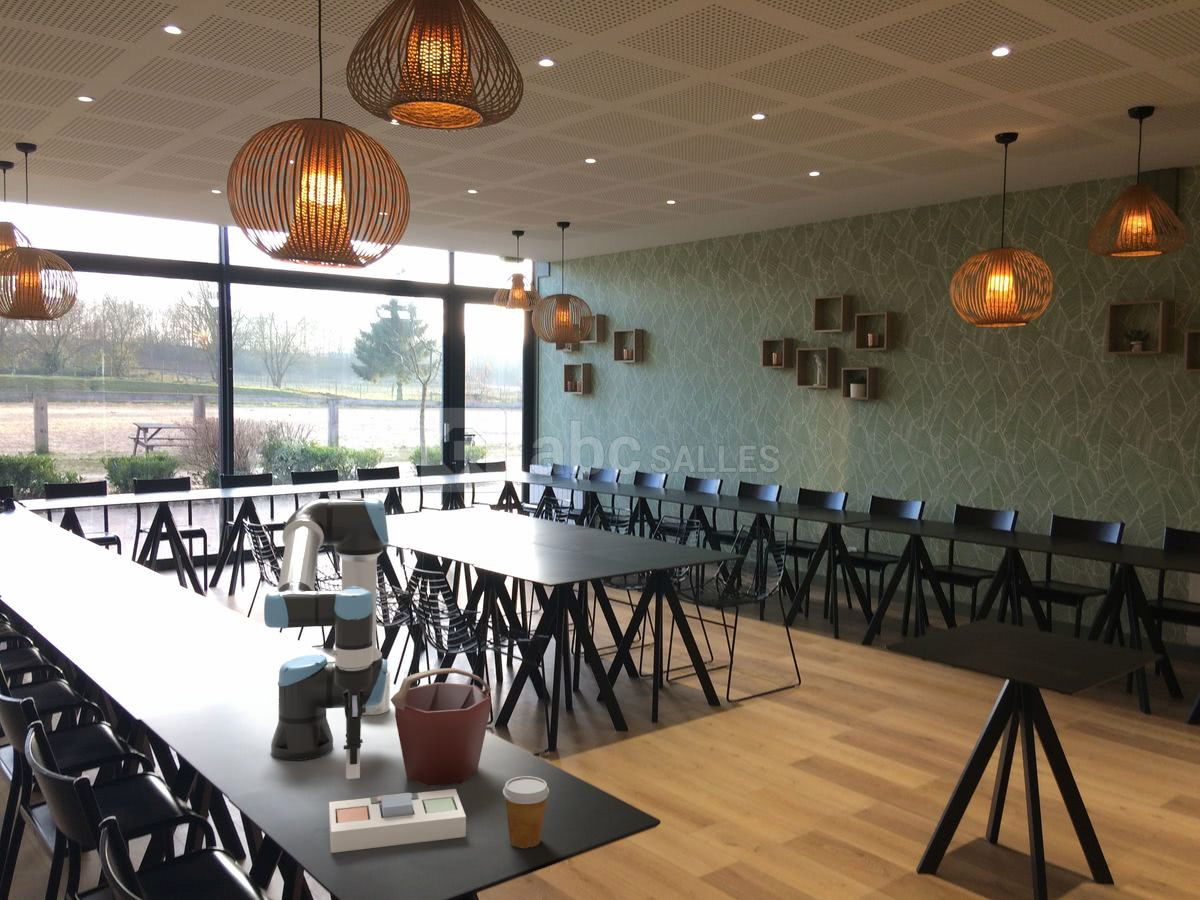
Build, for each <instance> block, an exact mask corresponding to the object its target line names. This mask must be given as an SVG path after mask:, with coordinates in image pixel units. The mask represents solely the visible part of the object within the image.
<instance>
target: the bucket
mask: <svg viewBox="0 0 1200 900" xmlns="http://www.w3.org/2000/svg"><path fill="white" fill-rule="evenodd" d="M442 674H443V675H444V674H458V675H461V676H465V677H468V678H471V679H473V680H476V681H479V683H480V684H481V685H483V687H484V688H483V689H481V688H480V687H479V686H477V685H475V684H474V685H473V684H462V683H450V682H441V681H439V682H434V683H428V684H424V685H420V686H414V687H411V685H412V683H415V682H417V681H420V680H422V679H425V678H429V677H432V676H435V675H442ZM491 691H492V688H491V687H490V686H489V684H488V683H486V682H485V681H484V680H483V679H482V678H481V677H479V676H478V675H476V674H473V673H471V672H469V671H466V670H462V669H458V668H455V667H449V668H448V667H447V668H446V667H445V668H434V669H428V670H425V671H421V672H418V673H417V672H416V673H413V674H411V675H409V676H407V677H404V678H403V680H402V683H401V685H400V688H399V690H398V691H397V692H396V693H395V694H394V695H393V696H392V697H390V698H391V699H390V701H391V702H390V703H392V705H393V707H394V718H395V722H396V728H397V733H398V738H399V744H400V750H401V755H402V758H403V759H402V760H403V765H404V770H405V775H406V778H407V779H408V780H411V781H413V782H417V783H418V784H422V785H424V786H425V787H426V786H427V787H434V786H435V787H436V786H437V787H438V786H446V785H447V786H448V785H458V784H459V785H460V784H463V783H464V782H465V781H466V780H468V779H470V777H472V776H474V775H475V774H476V773H478V769H479V766H480V759H481V754H482V750H483V746H484V742H485V737H486V732H487V727H488V724H489V719H490V713H491V709H492V708H491V699H492V697H491V696H490V695H489V694H490V693H491Z"/></svg>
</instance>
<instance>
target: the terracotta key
mask: <svg viewBox="0 0 1200 900" xmlns="http://www.w3.org/2000/svg"><path fill="white" fill-rule="evenodd" d="M361 820H368V814H367V807H362V808H353V809H343V810H337V823H343V822H352V821H361Z"/></svg>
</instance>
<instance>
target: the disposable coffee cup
mask: <svg viewBox="0 0 1200 900" xmlns="http://www.w3.org/2000/svg"><path fill="white" fill-rule="evenodd" d="M502 793H503V795H504V796H503V797H504V799H505V808H506V817H507V818H506V819H507V826H508V835H509V843H510V845H512V847H515V846H516V847H515V848H518V847H523V848H522V849H525V848H524V847H527V848H526V849H529V848H528V847H531V848H533V847H532V846H535V845H537V844H538V843H539V842H540V843H541V839H542V830H543V824H544V817H545V812H546V811H545V810H546V804H547V798H548V795H549V794H550V789H549V787H548V784H547V782H546V780H544V779H542V778H540V777H536V776H529V775H525V776H524V775H522V776H516V777H513V778H510V779H508V780H507V781H506V782H505V784H504V788H503V790H502ZM540 843H539V844H540ZM539 844H538V845H539ZM538 845H537V846H538ZM535 847H536V846H535Z"/></svg>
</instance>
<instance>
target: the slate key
mask: <svg viewBox="0 0 1200 900" xmlns="http://www.w3.org/2000/svg"><path fill="white" fill-rule="evenodd" d="M410 793H411V792H403V793H394V794H393V793H392V794H384V795H380V796H381V810H382V815H383V818H388V817H397V816H406V815H413V803H412V800H411V796H410Z"/></svg>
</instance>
